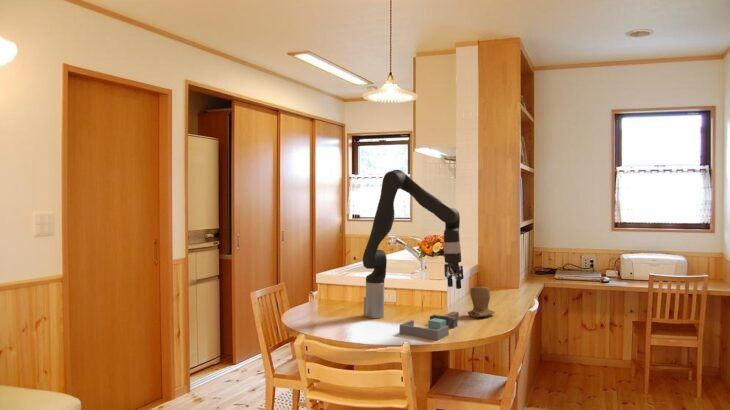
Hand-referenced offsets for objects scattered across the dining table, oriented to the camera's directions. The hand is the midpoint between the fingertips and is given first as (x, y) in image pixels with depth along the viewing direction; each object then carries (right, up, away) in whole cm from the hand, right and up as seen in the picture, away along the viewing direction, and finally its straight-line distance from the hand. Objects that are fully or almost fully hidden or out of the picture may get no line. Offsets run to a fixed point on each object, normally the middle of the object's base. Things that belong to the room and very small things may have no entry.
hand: (454, 287), depth 260 cm
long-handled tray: (-1, -19, +13) cm, 23 cm away
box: (-15, -19, -9) cm, 26 cm away
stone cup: (+18, -19, +31) cm, 41 cm away
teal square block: (-8, -19, +2) cm, 21 cm away
